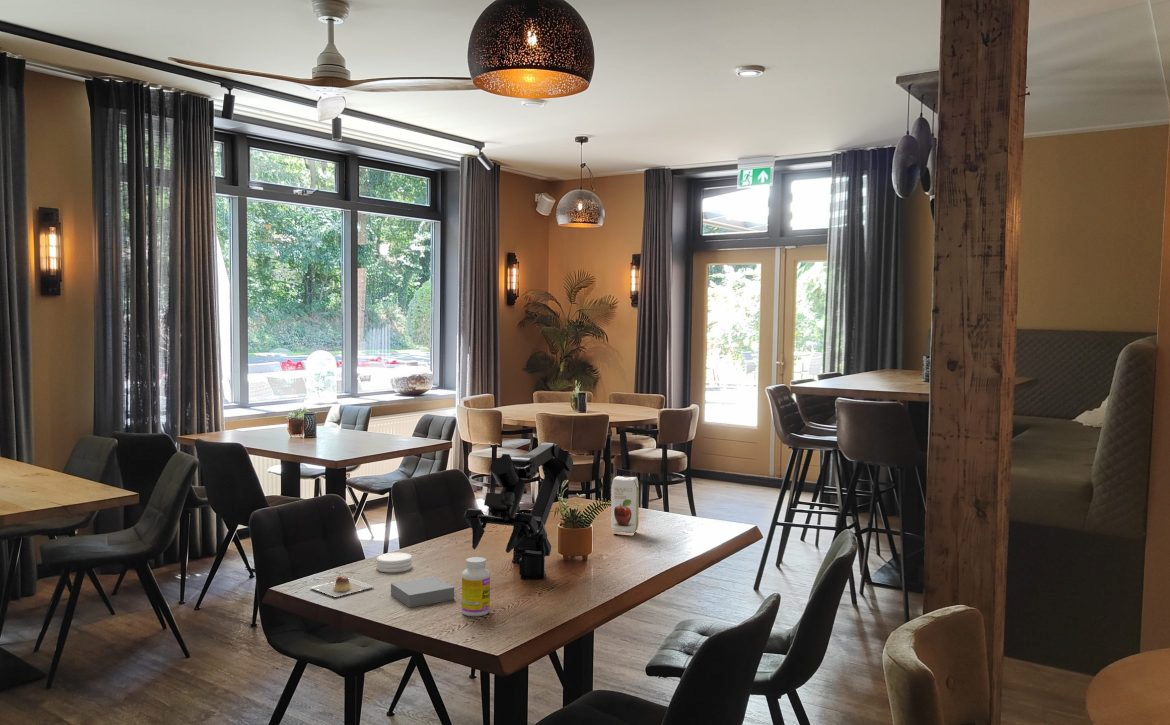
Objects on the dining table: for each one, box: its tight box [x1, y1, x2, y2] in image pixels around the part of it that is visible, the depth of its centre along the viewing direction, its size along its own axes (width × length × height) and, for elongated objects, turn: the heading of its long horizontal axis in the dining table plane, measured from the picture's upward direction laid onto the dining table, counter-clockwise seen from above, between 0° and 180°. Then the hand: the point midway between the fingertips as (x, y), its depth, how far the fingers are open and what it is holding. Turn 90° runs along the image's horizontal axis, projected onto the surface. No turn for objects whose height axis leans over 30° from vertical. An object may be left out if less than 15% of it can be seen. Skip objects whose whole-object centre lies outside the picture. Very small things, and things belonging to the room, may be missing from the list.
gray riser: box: [390, 575, 455, 608], centre depth 215 cm, size 12×12×3 cm
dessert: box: [309, 572, 376, 598], centre depth 221 cm, size 12×12×5 cm
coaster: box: [376, 552, 413, 574], centre depth 241 cm, size 10×10×4 cm
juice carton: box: [610, 475, 640, 533], centre depth 285 cm, size 8×9×19 cm
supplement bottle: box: [461, 556, 491, 617], centre depth 202 cm, size 7×7×13 cm
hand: (490, 550), depth 209 cm, fingers open, 9 cm apart
